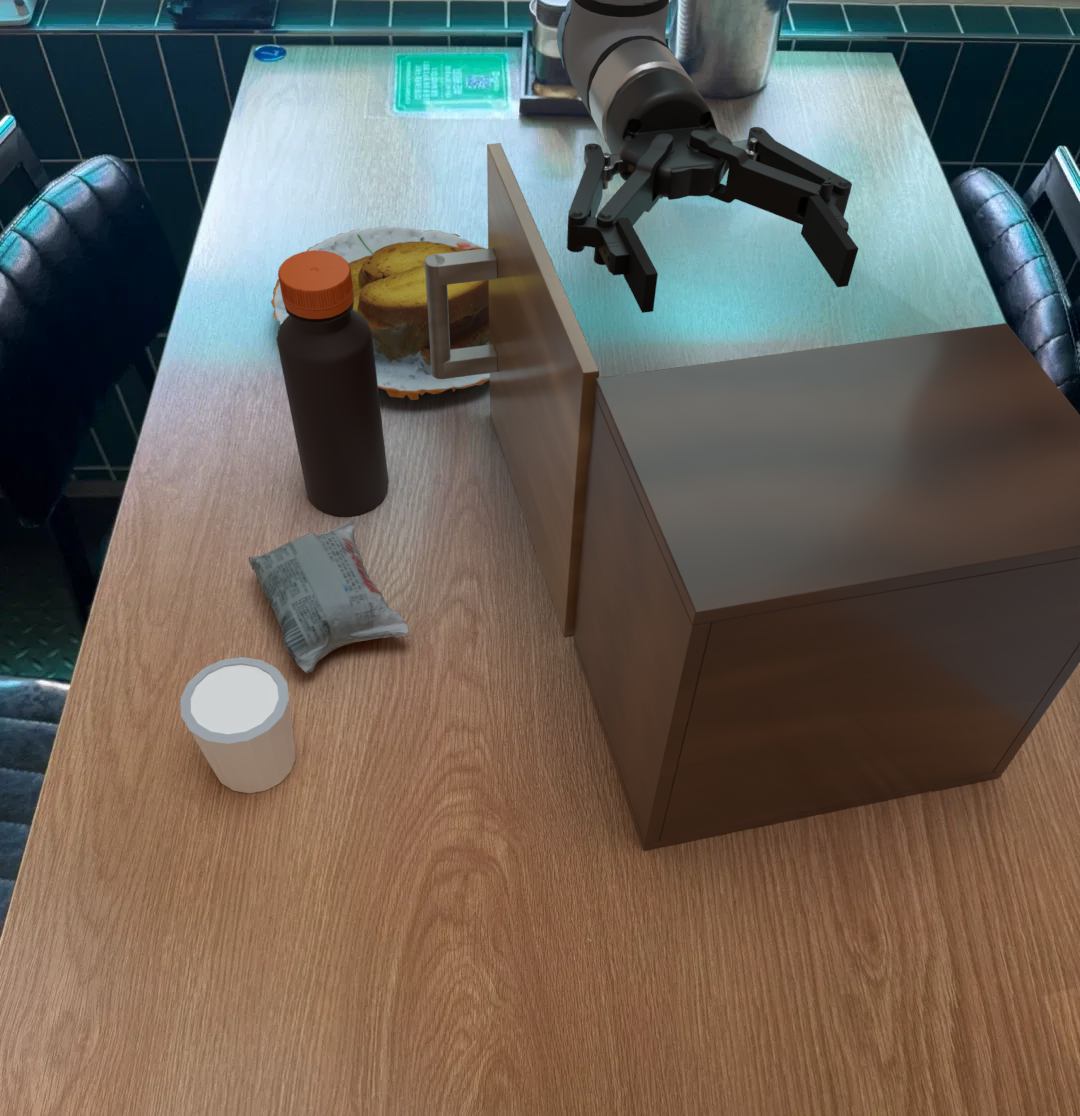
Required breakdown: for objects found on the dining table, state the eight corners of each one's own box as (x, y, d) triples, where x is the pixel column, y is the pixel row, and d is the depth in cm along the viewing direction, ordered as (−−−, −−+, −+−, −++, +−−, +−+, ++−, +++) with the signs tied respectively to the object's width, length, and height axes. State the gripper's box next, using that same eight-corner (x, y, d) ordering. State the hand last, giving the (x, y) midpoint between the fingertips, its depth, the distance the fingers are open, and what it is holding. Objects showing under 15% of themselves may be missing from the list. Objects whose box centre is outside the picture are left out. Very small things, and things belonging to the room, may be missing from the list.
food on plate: (363, 225, 114) (357, 162, 108) (584, 290, 108) (589, 227, 103) (224, 363, 100) (208, 298, 95) (469, 445, 95) (468, 382, 89)
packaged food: (357, 544, 87) (349, 499, 83) (413, 651, 81) (407, 607, 77) (251, 579, 85) (238, 533, 81) (300, 690, 79) (288, 648, 75)
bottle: (404, 478, 92) (383, 259, 76) (360, 529, 88) (328, 311, 72) (336, 452, 94) (301, 231, 77) (290, 500, 90) (243, 280, 74)
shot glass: (217, 814, 73) (193, 756, 67) (193, 736, 77) (168, 674, 71) (317, 781, 75) (302, 721, 69) (289, 705, 78) (272, 643, 73)
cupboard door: (495, 648, 82) (492, 385, 62) (430, 422, 96) (412, 151, 77) (576, 634, 83) (599, 370, 63) (500, 412, 97) (500, 142, 78)
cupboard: (572, 644, 82) (595, 377, 63) (892, 588, 86) (1006, 322, 67) (642, 852, 72) (695, 612, 53) (1000, 777, 76) (1172, 529, 57)
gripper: (795, 152, 88) (909, 308, 76) (490, 185, 84) (561, 355, 72) (817, 51, 82) (945, 203, 70) (489, 82, 78) (566, 249, 66)
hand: (750, 281), depth 71 cm, fingers open, 13 cm apart
